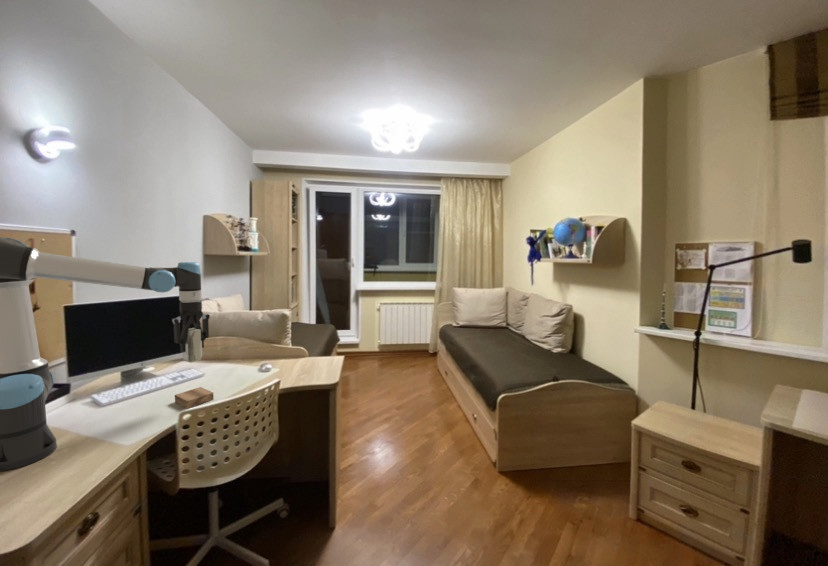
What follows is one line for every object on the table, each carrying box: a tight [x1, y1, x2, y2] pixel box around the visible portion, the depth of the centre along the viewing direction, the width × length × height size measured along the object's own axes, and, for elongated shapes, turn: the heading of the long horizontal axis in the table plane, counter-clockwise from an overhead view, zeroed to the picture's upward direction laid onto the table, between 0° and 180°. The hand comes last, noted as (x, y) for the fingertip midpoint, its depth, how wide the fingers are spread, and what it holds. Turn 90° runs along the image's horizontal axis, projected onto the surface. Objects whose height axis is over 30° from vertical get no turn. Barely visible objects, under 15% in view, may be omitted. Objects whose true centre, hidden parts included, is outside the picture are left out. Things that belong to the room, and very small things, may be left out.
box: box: [183, 327, 202, 363], centre depth 142 cm, size 5×4×13 cm
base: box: [174, 386, 214, 409], centre depth 144 cm, size 10×10×3 cm
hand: (192, 357), depth 142 cm, fingers closed on box, 4 cm apart
